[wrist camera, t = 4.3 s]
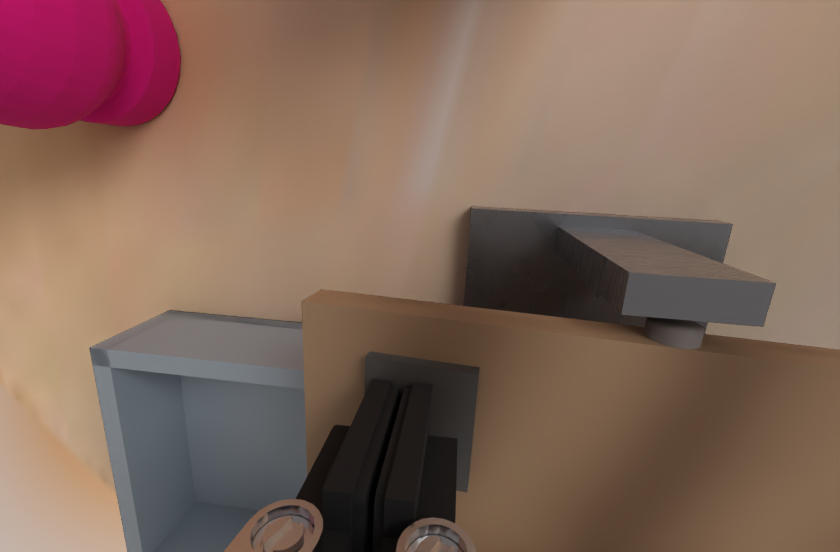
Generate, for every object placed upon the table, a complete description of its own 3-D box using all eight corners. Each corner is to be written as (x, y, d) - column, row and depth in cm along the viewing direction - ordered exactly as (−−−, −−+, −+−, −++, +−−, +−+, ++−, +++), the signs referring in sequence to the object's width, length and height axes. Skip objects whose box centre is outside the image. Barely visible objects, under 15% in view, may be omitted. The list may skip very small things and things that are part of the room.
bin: (419, 333, 19) (404, 381, 15) (409, 531, 22) (394, 618, 18) (169, 310, 21) (89, 347, 16) (193, 499, 24) (131, 573, 19)
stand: (717, 220, 16) (972, 273, 8) (632, 567, 21) (736, 822, 13) (471, 206, 17) (473, 239, 9) (444, 539, 22) (429, 758, 14)
